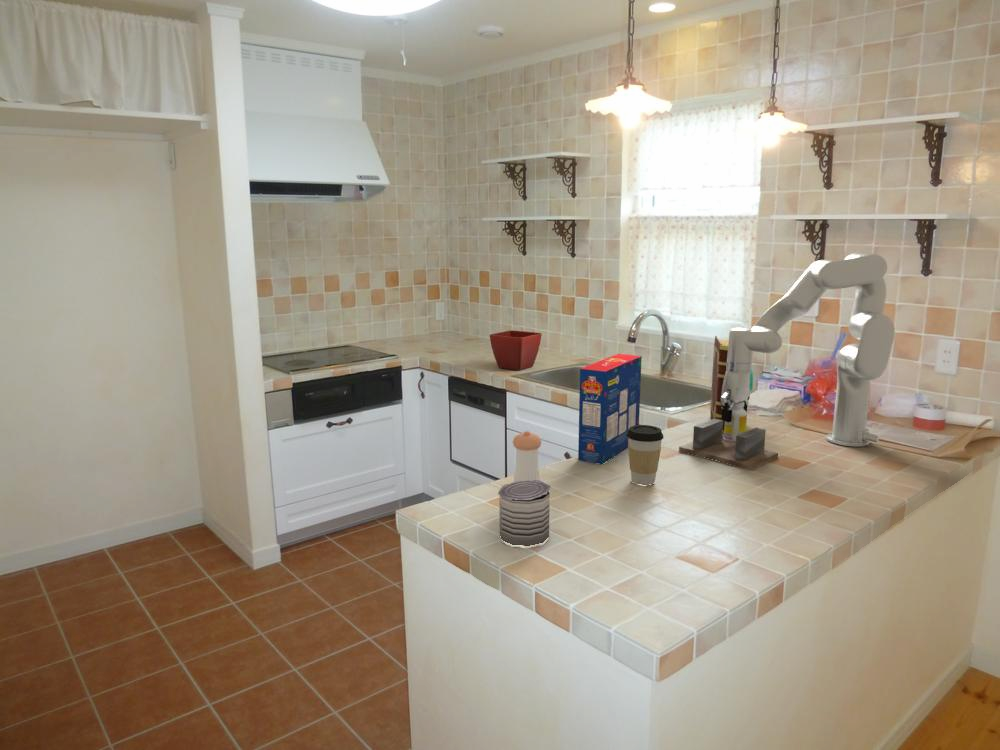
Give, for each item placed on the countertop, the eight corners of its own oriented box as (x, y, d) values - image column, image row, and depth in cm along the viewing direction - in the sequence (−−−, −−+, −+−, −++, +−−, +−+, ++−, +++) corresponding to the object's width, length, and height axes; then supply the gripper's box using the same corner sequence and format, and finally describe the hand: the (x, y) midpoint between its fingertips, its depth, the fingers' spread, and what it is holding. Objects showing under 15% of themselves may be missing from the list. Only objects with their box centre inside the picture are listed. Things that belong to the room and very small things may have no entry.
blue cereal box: (615, 436, 233) (618, 353, 227) (638, 440, 229) (641, 356, 223) (578, 460, 210) (580, 368, 204) (602, 464, 206) (605, 371, 200)
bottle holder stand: (777, 457, 211) (780, 430, 209) (751, 470, 200) (753, 441, 199) (706, 440, 228) (707, 415, 227) (678, 451, 218) (680, 425, 216)
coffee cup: (664, 479, 194) (667, 426, 191) (657, 491, 185) (659, 436, 182) (629, 473, 198) (631, 422, 195) (620, 485, 189) (622, 432, 186)
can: (546, 551, 152) (547, 498, 149) (494, 547, 154) (494, 495, 151) (552, 528, 163) (552, 479, 160) (503, 525, 165) (503, 477, 162)
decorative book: (740, 435, 234) (746, 346, 227) (715, 434, 235) (720, 345, 229) (732, 417, 255) (737, 335, 249) (709, 416, 257) (714, 335, 251)
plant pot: (510, 362, 360) (510, 329, 357) (542, 366, 349) (542, 332, 346) (488, 368, 345) (488, 334, 341) (521, 373, 334) (521, 337, 330)
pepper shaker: (521, 512, 172) (521, 437, 168) (507, 502, 178) (507, 429, 174) (546, 506, 175) (547, 433, 171) (532, 497, 182) (532, 425, 178)
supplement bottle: (745, 438, 231) (747, 400, 228) (745, 444, 225) (747, 405, 222) (723, 436, 233) (726, 398, 230) (723, 442, 227) (725, 403, 224)
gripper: (741, 361, 232) (736, 412, 236) (713, 368, 220) (709, 420, 224) (762, 365, 227) (757, 416, 230) (736, 372, 215) (731, 426, 219)
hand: (733, 418), depth 227 cm, fingers open, 9 cm apart
